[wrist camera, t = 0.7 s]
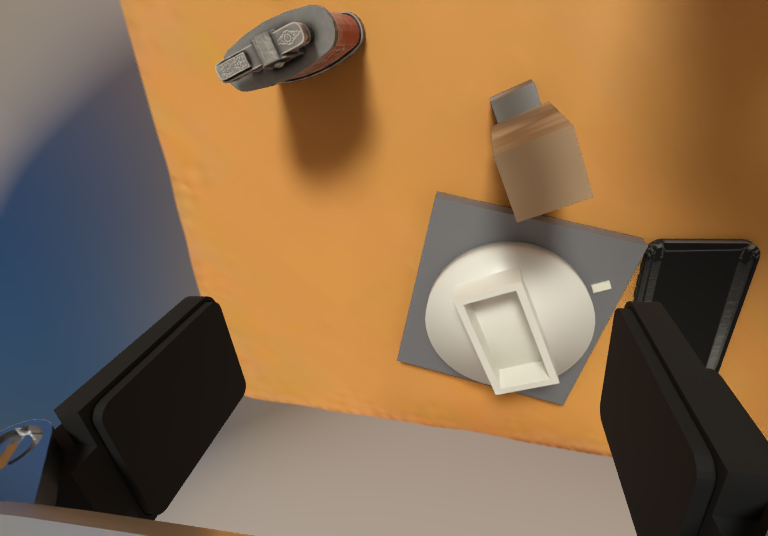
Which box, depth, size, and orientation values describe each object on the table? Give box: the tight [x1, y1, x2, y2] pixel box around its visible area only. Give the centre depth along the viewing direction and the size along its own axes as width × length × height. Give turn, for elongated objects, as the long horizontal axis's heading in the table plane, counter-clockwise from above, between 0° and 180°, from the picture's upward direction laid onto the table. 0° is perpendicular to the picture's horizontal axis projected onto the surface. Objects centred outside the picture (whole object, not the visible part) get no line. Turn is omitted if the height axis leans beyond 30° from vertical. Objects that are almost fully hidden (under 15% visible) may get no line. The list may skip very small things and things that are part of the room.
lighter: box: [215, 5, 365, 91], centre depth 28 cm, size 8×3×10 cm, turn 113°
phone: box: [633, 239, 760, 372], centre depth 37 cm, size 8×1×15 cm
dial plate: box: [397, 192, 648, 405], centre depth 39 cm, size 18×17×2 cm
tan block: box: [490, 80, 593, 223], centre depth 27 cm, size 4×7×12 cm, turn 26°
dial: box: [425, 241, 595, 395], centre depth 36 cm, size 14×14×4 cm
